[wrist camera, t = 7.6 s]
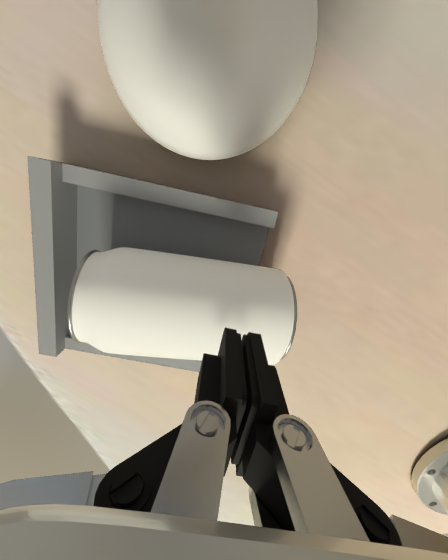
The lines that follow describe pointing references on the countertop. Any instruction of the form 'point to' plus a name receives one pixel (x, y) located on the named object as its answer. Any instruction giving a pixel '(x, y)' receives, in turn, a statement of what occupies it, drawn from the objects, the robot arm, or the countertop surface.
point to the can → (177, 304)
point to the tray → (124, 236)
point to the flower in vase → (208, 68)
